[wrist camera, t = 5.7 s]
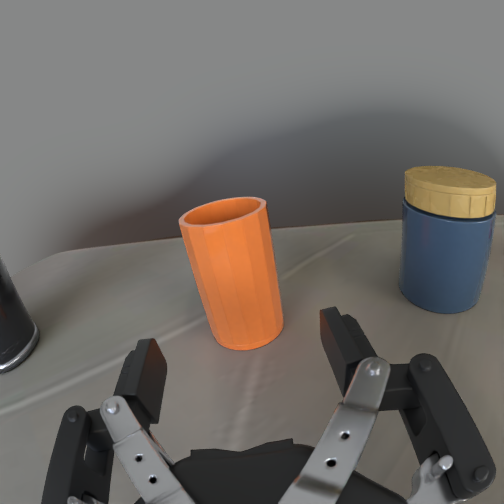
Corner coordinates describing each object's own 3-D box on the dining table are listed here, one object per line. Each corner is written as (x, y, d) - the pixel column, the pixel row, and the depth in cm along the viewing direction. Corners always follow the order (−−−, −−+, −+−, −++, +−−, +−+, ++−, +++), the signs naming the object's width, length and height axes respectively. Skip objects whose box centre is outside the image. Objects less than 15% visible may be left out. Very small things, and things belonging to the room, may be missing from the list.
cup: (199, 340, 22) (161, 226, 18) (235, 299, 27) (212, 198, 23) (264, 358, 19) (236, 227, 15) (294, 309, 24) (280, 195, 20)
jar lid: (406, 214, 18) (406, 184, 17) (404, 186, 24) (403, 164, 23) (507, 222, 13) (510, 193, 13) (480, 191, 20) (480, 169, 19)
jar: (395, 309, 21) (403, 193, 17) (399, 259, 28) (401, 169, 24) (487, 316, 17) (512, 202, 13) (471, 265, 23) (481, 175, 19)
